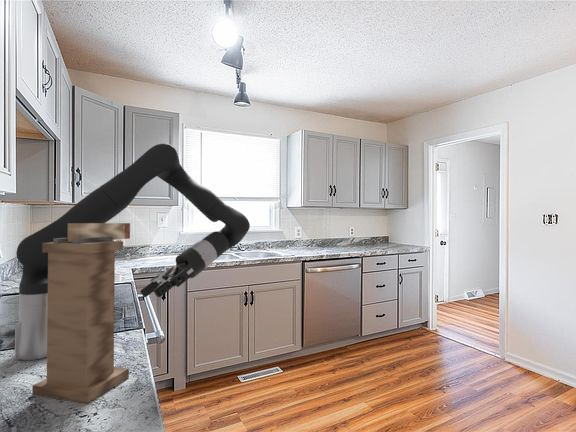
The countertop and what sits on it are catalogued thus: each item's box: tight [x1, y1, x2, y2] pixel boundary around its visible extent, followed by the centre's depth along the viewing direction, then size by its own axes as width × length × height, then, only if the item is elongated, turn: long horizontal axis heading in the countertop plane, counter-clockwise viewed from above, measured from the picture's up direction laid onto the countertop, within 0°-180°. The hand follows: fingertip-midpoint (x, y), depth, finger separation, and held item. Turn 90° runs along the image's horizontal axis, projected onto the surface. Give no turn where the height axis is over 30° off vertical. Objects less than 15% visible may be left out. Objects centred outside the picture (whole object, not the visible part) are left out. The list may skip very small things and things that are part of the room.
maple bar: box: [68, 222, 131, 242], centre depth 82 cm, size 16×3×4 cm, turn 166°
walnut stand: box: [32, 237, 130, 404], centre depth 76 cm, size 12×14×33 cm
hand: (148, 294), depth 86 cm, fingers open, 8 cm apart
